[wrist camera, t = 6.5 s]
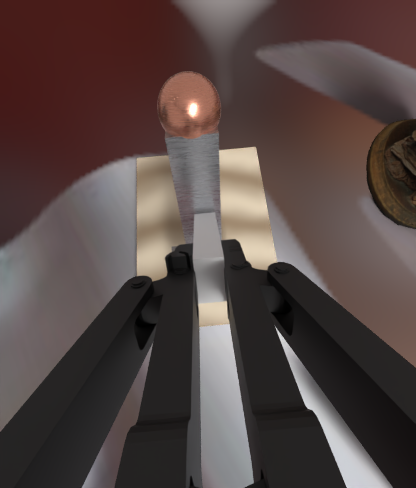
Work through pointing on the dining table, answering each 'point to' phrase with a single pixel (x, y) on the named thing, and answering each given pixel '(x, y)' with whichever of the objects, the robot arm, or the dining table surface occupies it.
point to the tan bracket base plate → (232, 218)
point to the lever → (192, 145)
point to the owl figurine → (394, 172)
